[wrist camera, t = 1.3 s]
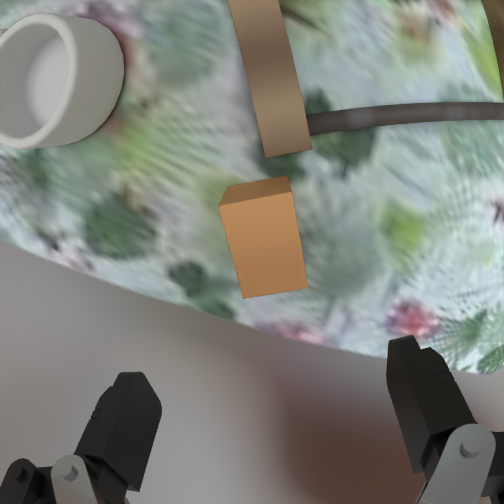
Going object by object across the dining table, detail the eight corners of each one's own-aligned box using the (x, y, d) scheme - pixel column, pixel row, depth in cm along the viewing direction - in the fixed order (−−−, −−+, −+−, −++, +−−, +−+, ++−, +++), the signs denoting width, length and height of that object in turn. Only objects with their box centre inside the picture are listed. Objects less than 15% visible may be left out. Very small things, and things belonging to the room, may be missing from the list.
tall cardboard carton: (228, 186, 21) (218, 206, 17) (286, 174, 21) (291, 191, 17) (247, 264, 24) (243, 298, 20) (301, 255, 23) (308, 287, 19)
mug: (155, 70, 18) (116, 60, 13) (72, 168, 21) (24, 190, 16) (66, -13, 15) (20, -31, 9) (-1, 80, 18) (-50, 84, 12)
